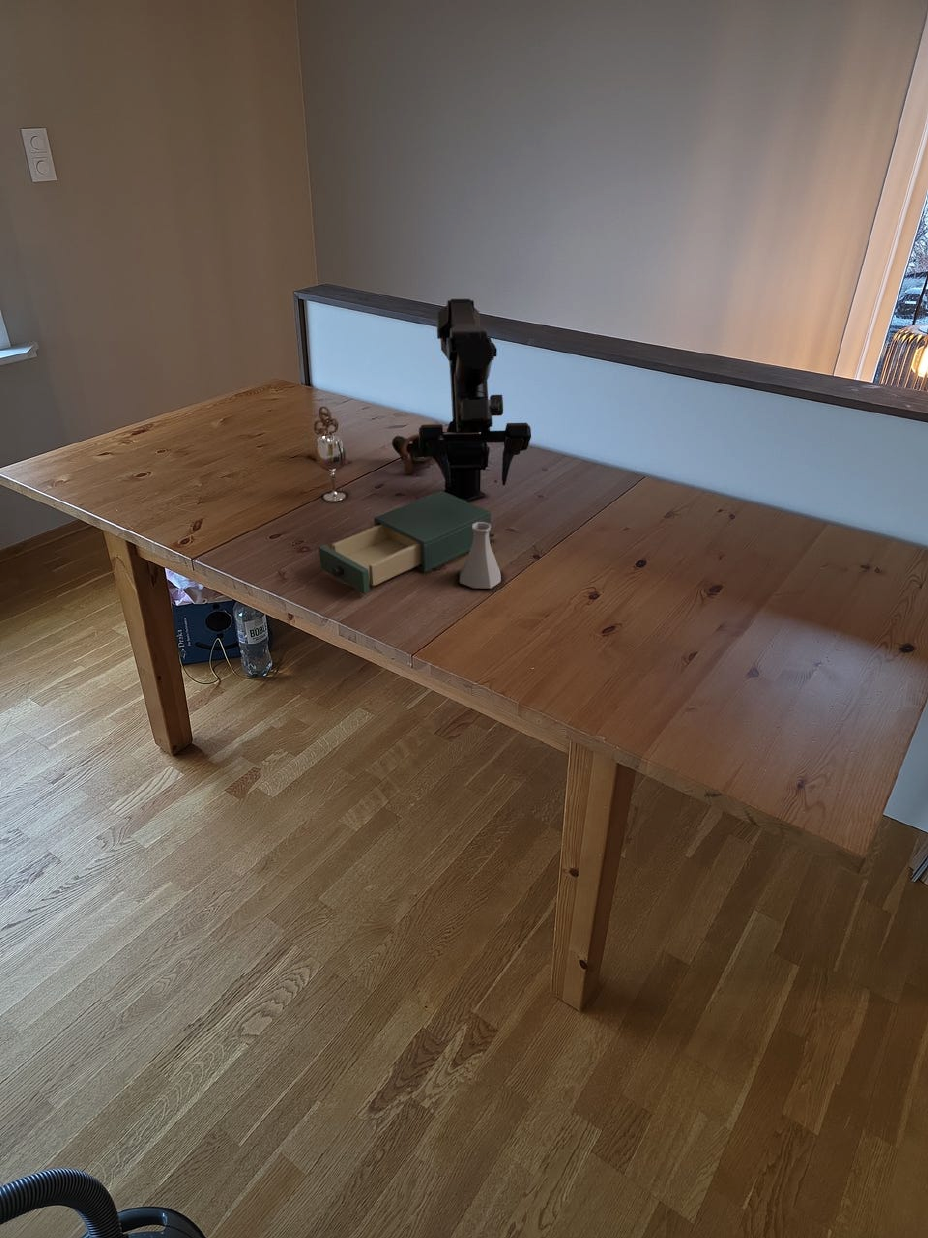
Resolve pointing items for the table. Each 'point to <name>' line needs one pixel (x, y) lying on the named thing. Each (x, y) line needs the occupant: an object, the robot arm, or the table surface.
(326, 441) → the wineglass
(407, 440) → the pottery mug
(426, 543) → the cabinet
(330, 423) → the brown looped piece
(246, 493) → the table surface
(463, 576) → the flask
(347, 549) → the drawer
